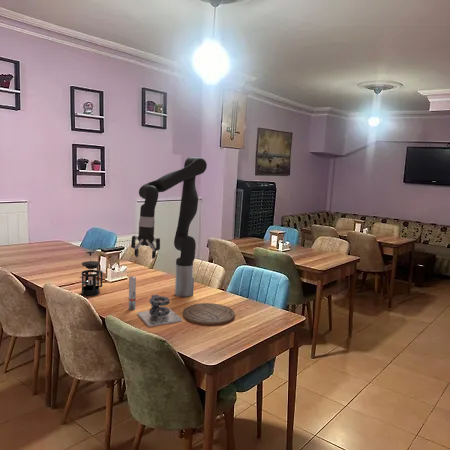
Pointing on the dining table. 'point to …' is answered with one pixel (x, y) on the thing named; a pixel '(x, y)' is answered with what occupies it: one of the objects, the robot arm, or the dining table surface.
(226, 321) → the trivet
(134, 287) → the tube
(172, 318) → the collar stand
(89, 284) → the french press
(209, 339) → the dining table surface
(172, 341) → the dining table surface
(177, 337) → the dining table surface
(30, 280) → the dining table surface
